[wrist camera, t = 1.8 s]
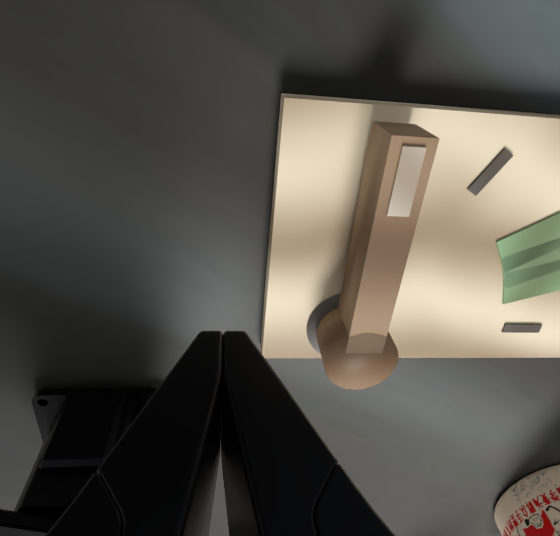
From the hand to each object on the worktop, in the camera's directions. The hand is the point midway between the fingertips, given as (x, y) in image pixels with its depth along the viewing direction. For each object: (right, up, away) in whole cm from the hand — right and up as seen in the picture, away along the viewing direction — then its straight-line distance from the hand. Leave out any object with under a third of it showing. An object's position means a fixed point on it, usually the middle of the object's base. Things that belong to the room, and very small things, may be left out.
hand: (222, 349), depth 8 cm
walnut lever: (+5, +2, +10) cm, 11 cm away
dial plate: (+10, +3, +12) cm, 16 cm away
